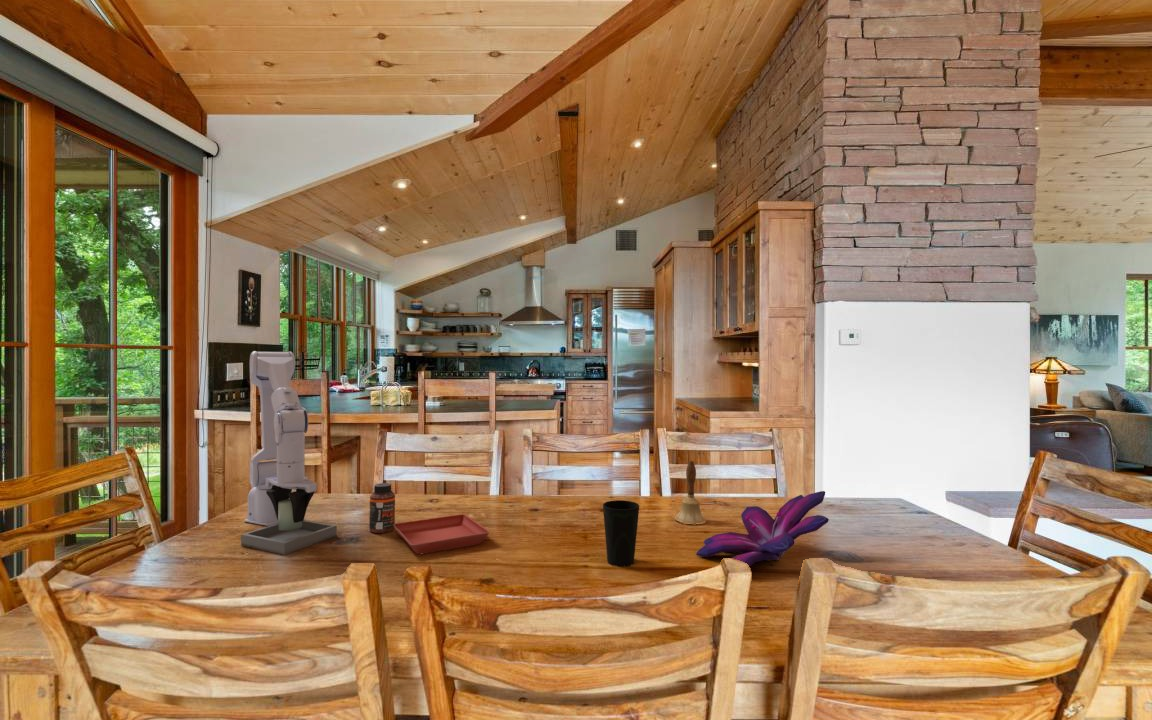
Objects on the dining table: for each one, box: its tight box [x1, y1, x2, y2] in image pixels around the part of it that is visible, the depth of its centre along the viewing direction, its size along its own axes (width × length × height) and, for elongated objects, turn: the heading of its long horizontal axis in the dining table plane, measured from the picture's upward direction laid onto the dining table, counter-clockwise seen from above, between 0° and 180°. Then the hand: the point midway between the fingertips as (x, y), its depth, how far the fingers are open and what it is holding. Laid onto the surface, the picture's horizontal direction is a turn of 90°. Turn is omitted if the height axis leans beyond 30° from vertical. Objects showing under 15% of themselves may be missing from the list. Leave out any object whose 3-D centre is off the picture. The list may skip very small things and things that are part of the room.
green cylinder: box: [277, 498, 302, 530], centre depth 127 cm, size 5×5×6 cm
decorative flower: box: [695, 490, 830, 567], centre depth 116 cm, size 31×31×10 cm
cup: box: [602, 499, 640, 568], centre depth 115 cm, size 8×8×12 cm
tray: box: [240, 519, 338, 556], centre depth 127 cm, size 14×14×2 cm
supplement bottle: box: [368, 482, 396, 534], centre depth 135 cm, size 6×6×11 cm
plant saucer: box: [393, 513, 490, 555], centre depth 128 cm, size 18×18×3 cm
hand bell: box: [674, 460, 707, 524], centre depth 145 cm, size 8×8×16 cm
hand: (290, 520), depth 127 cm, fingers closed on green cylinder, 5 cm apart
